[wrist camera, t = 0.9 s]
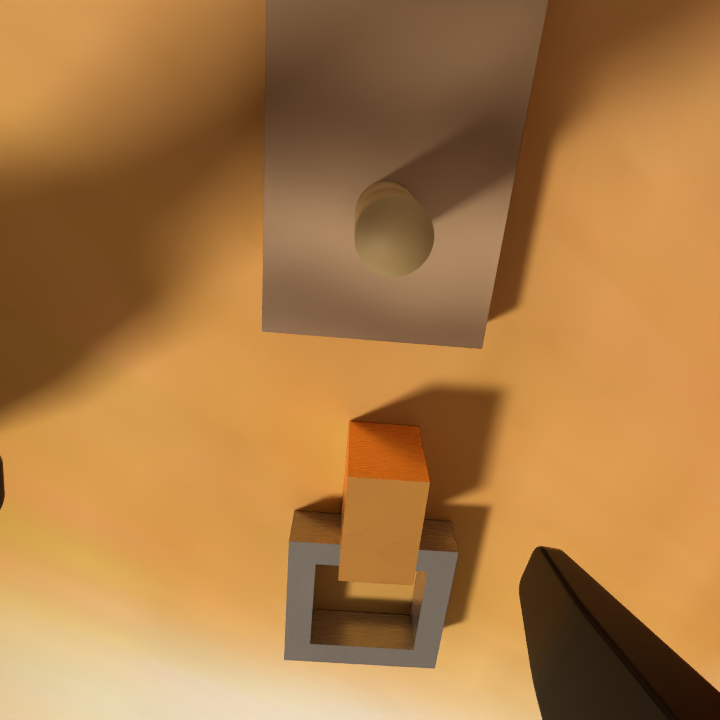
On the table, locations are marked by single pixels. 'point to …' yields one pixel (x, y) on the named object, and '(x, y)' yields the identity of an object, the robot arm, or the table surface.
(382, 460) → the link
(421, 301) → the keeper
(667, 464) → the table surface
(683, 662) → the robot arm
